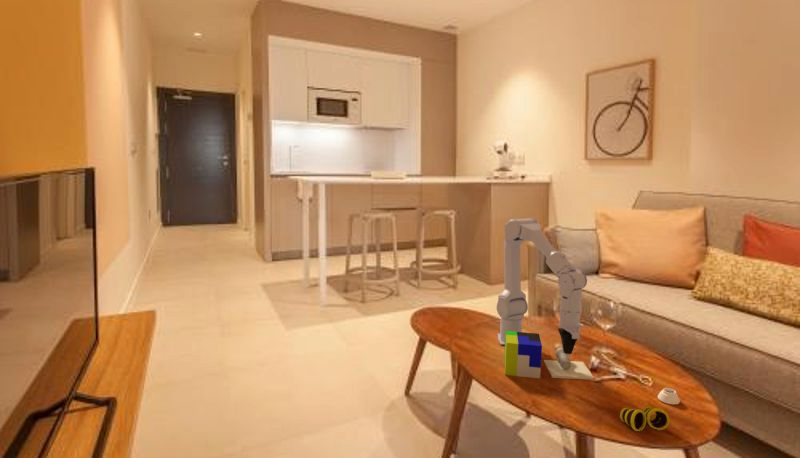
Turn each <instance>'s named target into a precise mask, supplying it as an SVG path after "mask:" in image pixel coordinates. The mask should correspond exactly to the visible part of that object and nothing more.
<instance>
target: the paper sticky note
mask: <svg viewBox="0 0 800 458" xmlns="http://www.w3.org/2000/svg"><path fill="white" fill-rule="evenodd" d="M570 361H571V363H572V364H571V367H570V368H568V369H564V368H562V367H561V365H560V361H559V360H557V359H556V360H555V359H554V360H553V359H543V363H544V365H545V367H546V368H547V371H548V373H549V374H550V376H551V378H552V379H553V378H554V379H568V380H570V379H571V380H572V379H573V380H590V381H591V380H592V381H593V380H595V377H594V376H593V374H592V373H591V371H590V369H589V368H588V367H587V365H586V364H585V362H583V361H575V360H573V361H572V360H570Z"/></svg>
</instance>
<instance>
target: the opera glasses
mask: <svg viewBox="0 0 800 458" xmlns="http://www.w3.org/2000/svg"><path fill="white" fill-rule="evenodd" d="M654 413H655V414H654ZM652 414H654V417H653V418H650V417H651V415H652ZM619 418H620V420H621V421H622V422H623V423H626V425H627V426H628V427H631V428H632V430H634V431H635V432H637V431H639V432H641V431H643V430H644V428H645V427H646V424H647V425H648V426H649V427H650V428H651V429H652V430H655V429H657V431H663V430H665V429H666V428H667V427H669V424H670V416H669V414H668V413H667V412H666V410H663V409H662V408H655V407H652V406H645V407H644V408H643V410H642V409H634V408H633V409H632V408H629V407H624V408H622V409H621V411H620V413H619ZM640 430H641V431H640Z"/></svg>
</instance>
